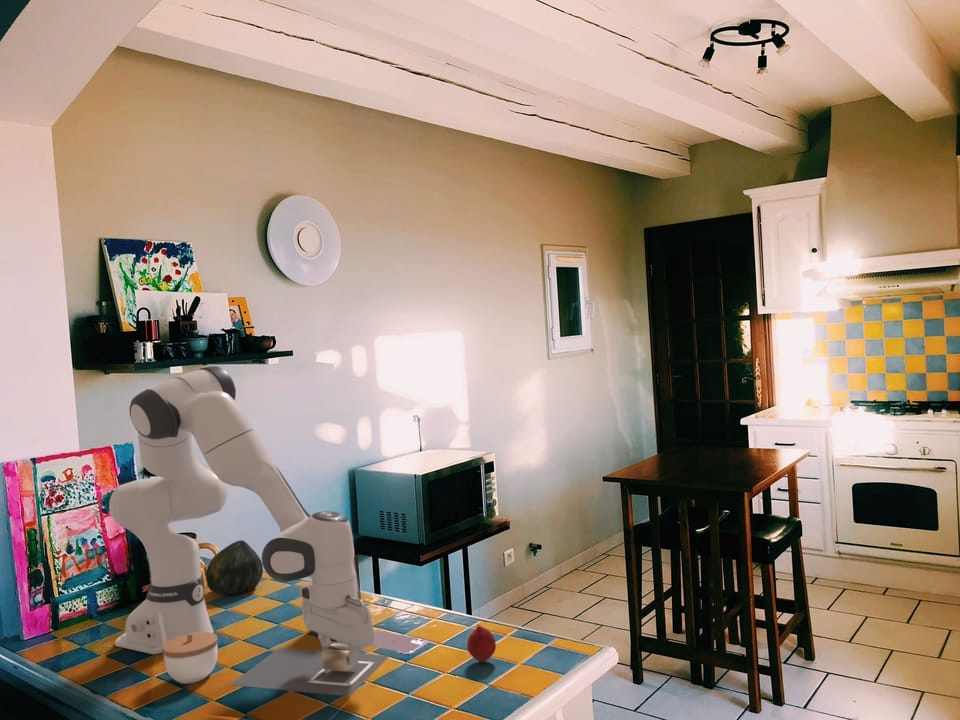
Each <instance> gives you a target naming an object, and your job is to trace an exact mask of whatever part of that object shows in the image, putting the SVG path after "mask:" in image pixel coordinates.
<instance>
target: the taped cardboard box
mask: <svg viewBox="0 0 960 720" xmlns="http://www.w3.org/2000/svg"><path fill="white" fill-rule="evenodd" d="M322 651H323V650H322ZM349 652H350V650H349V649H348V645H346V644H344V643H339V642H338V643H337V642H336V643H334V642H333V643H332V642H331V645H330V646H328V647H327V649H325V650H324V651H323V652H322V657H323V669H325V670H341V671H349V670H350V669H351V668H352V667H353V666H351V665H348V664H347V660H346V656H348V655H349Z"/></svg>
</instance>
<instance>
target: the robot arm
mask: <svg viewBox="0 0 960 720" xmlns="http://www.w3.org/2000/svg"><path fill="white" fill-rule="evenodd" d="M236 390H237V389H236V385H235V383H234V380H233V378H232V377H231V375H230V374H229V373H228V372H227V371H226V370H225V369H224V368H222V367H220V366H217V365H214V366H205V367H200V368H199V369H198V370H197V369H196V370H194V371H189V372H185V373H182V374H179V375H177V376H174V377H172V378H171V379H168V380H166V381H164V382H161V383H159V384H158V385H156V386H153V387H151V388H150V389H149V388H146V389H145V390H143V391H141V392H139V393H138V394H137V395H135V396H134V397H133V398H132V399H131V401H130V406H129V416H130V419H131V420H130V421H131V422H132V424H133V426H134V428H135V430H136V431H137V436H138V437H137V439H138V448H139V458H140V462H141V464H142V466H143V467H144V468H145V470H147V472H149V473H151V474H152V475H154V476H155V477H150V478H141V479H136V480H132V481H129V482H126V483H123V484H120V485H117V487H116V488H115V489H114V490H113V492H112V493H111V495H110V499H109V503H108V506H109V507H108V508H109V513H110V516H111V517H112V519H113V521H114V522H115V523H116V524H117V525H119V526H120V527H121V528H124V529H127V530H128V531H129V532H130V533H132V534H134V535H135V536H136V537H137V538H138V539H139V540H140V542H141V543H142V545H143V547H144V549H145V552H146V554H147V559H148V564H149V569H150V580H151V582H149V584H147V585H144V586H143V587H142V589H143V590H142V592H143V593H144V592H147V593H146V599H145V600H143V601H142V602H141V603H140V604H139V605H138V606H137V607H136V608H134V610H133V611H132V612H131V613H129V615H128V616H127V618H126V620H125V632H124V633H122V634H121V635H120V636H119V637H117V639H115V642H114V646H116V647H119V648H123V649H127V650H132V651H133V650H134V651H137V652H142V653H144V654H145V653H146V654H150V655H158V654H163V650H162V648H163V646H164V644H165V643H167V642H168V641H170V640H172V639H174V638H176V637H179V636H182V635H185V634H189V633H195V632H211V633H214V628H213V625H212V623H211V619H210V617H209V612H208V609H207V604H206V600H205V578H204V575H203V573H202V565H201V554H200V546H199V544H198V543H197V541H196V540H195V539H193V538H192V537H191V536H187V535H184V534H180V533H177V532H175V531H173V530H171V528H170V527H169V524H171V523H174V522H180V521H181V522H182V521H187V520H193V519H201V518H205V517H207V516H209V515H210V516H211V515H213V514H215V513H218V512H220V511H222V509H223V508H224V506H225V504H226V501H227V499H228V486H227V485H230V486H233V487H239V488H245V489H246V490H249V491H251V492H253V493H254V494H256V495H257V496H258V497H259V498H260V499H261V501H262V503H263V504H264V505H265V507H266V508H267V510H268V511H269V513H270V514H271V516H272V517H273V519H274V521H275V522H276V524H277V526H278V528H279V533H277V534H276V535H275V536H273V538H271V539H270V540H269V541H268V542H267V543H266V545H265V546H264V548H263V550H262V553H261V562H262V566H263V570H264V571H265V572H266V574H267V575H268V576H269V577H270V578H272V579H273V580H275V581H278V582H280V583H281V582H282V583H283V582H285V583H286V582H292V581H297V580H301V579H304V578H308V577H310V578H311V583H308V584H306V585H303V586H300V587H299V595H300V597H301V598H302V600H301V611H302V618H303V623H304V626H305V627H306V629H307V630H309V631H313V632H315V633H317V635H318V636H317V637H318V640H319V641H320V642H319V643H320V644H321V647H322V651H324V650H325V649H327V647H328V646H330V645H331V644H332V641H331V639H332V640H335V641H336V642H338V643H340V644H346V645H348V649H349V650H350V652H349V655H348V656H346V660H347V664H348V665H351V666H354V665H356V664H357V663H358V654H359V653H360V651H361V650H363V649H364V650H365V649H366V648H368V647H372V646H371V645H372V644H373V642H374V632H375V631H374V625H373V620H372V615H371V612H370V610H369V608H368V607H367V606H366V605H365V603H364V601H363V600H362V599H361V600H359V599H357V597H358V595H357V582H356V572H355V569H354V566H353V559H354V556H355V547H354V546H355V545H354V538H353V532H352V528H351V523H350V521H349V518H347V517H346V516H345V515H344V514H342V513H340V512H336V511H329V510H328V511H326V510H325V511H318V512H314V513H313V514H310V513H308V511H307V510H306V509H305V507H304V506H303V504H302V503H301V502H300V499H299V498H298V497H297V495H296V494H295V492H294V490H293V489H292V487H291V485H290V484H289V483H288V481H287V479H286V478H285V477H284V475H283V473H282V472H281V471H280V470H279V468H278V467H277V466H276V464H275V463H274V461H273V459H272V458H271V457H270V455H269V453H268V452H267V451H266V449H265V447H264V445H263V443H262V441H261V439H260V438H259V436H258V434H257V432H256V431H255V429H254V427H253V425H252V423H251V421H250V420H249V419H248V416H247V415H246V414H245V412H244V411H243V410H242V408H241V407H240V406H239V404H238V403H237V402H236V394H237V392H236ZM192 436H193V437H194V439H195V442H196V444H197V446H198V448H199V450H200V452H201V454H202V456H203V457H204V459H205V461H206V463H207V465H208V467H209V468H210V469H208V468H207V467H205V466H203V464H201V463H200V462H199V461H198V459H197V458H196V455H195V452H194V447H193V445H194V444H193V440H192Z"/></svg>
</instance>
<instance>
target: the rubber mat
mask: <svg viewBox="0 0 960 720" xmlns="http://www.w3.org/2000/svg"><path fill="white" fill-rule="evenodd" d="M322 652H323V650H320V649H319V650H318V649H316V650H315V649H305V648H304V649H303V648H290V647H288V648H287V647H279V648H278V649H276V650H275V651H273V652H272V653H271V654H269V655H268V656H267V657H265V658H264V659H262V660H261V661H260V662H258V663H257V664H256V665H255V666H253V667H252V668H250V669H249V670H248V671H246V672H245V673H244V674H242V675H241V676H240V677H238V678H237V679H235V680H234V681H233V682H231V683H230V684H229V686H234V687H235V686H236V687H244V688H245V687H246V688H256V689H267V690H277V691H287V692H288V691H289V692H298V693H299V692H300V693H310V694H319V695H320V694H322V695H328V696H330V695H331V696H342V697H350V696H352V694H353V693H355V691H356V690H357V689H358V688H359V687H360V686H361V685H362V684H363V683H365V681H366V680H367V679H368V678H369V677H371V676H372V674H373V673H374V672H375V671H376V670H377V669H378V668H380V666H382V664H384V662H385V661H387V659H388V658H389V657H390V655H385V654H383V655H382V654H371V653H360V652H359V654H358V663H357V664H356V665H354V666H353V667H352V668H351V669H350V670H349V671H341V670H325V669H323V657H322Z"/></svg>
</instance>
